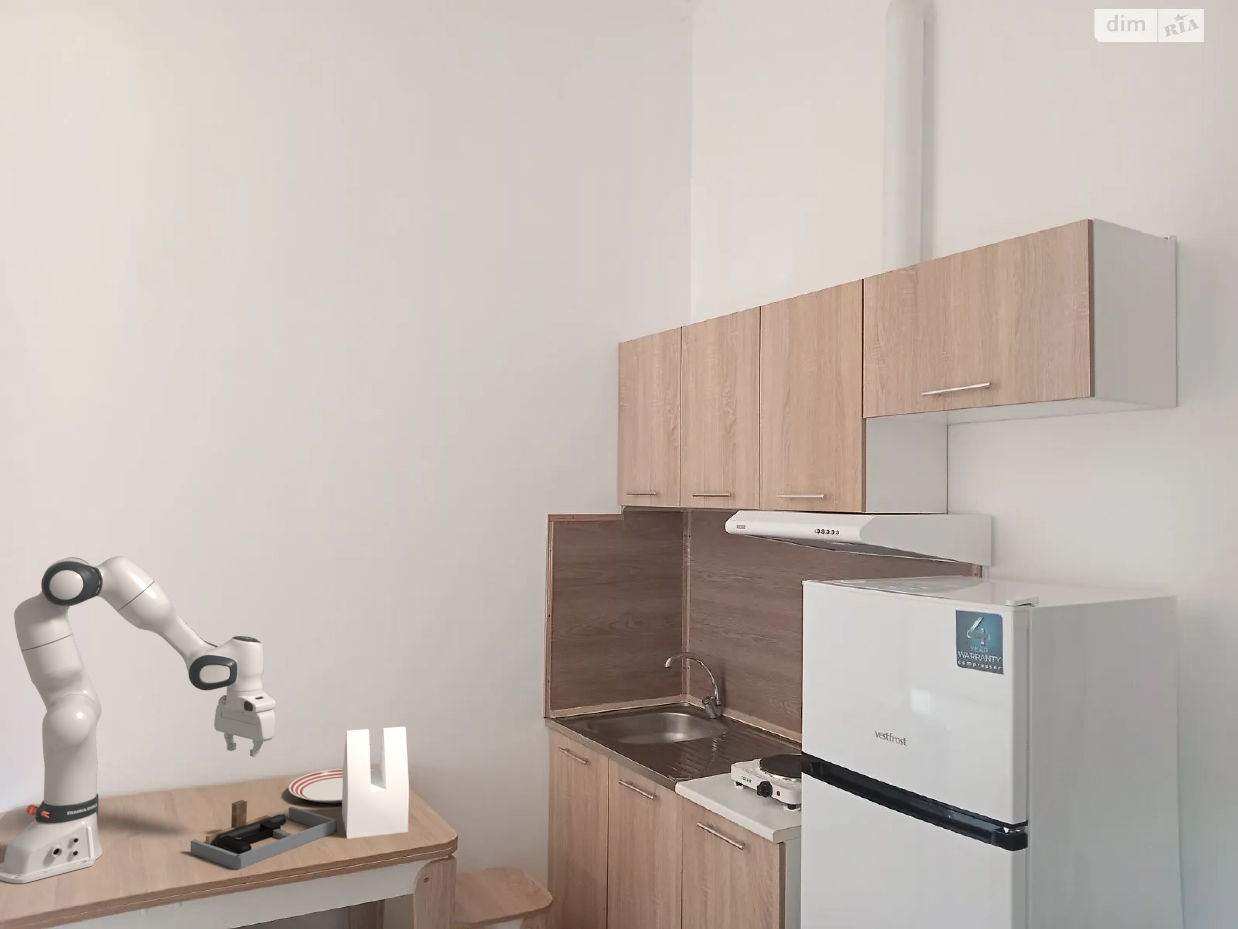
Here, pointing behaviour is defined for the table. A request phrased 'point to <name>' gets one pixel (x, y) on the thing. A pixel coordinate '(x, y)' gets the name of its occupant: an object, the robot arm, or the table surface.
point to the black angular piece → (252, 834)
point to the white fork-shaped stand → (375, 785)
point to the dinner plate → (319, 786)
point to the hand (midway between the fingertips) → (242, 753)
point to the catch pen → (235, 861)
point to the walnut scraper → (235, 820)
